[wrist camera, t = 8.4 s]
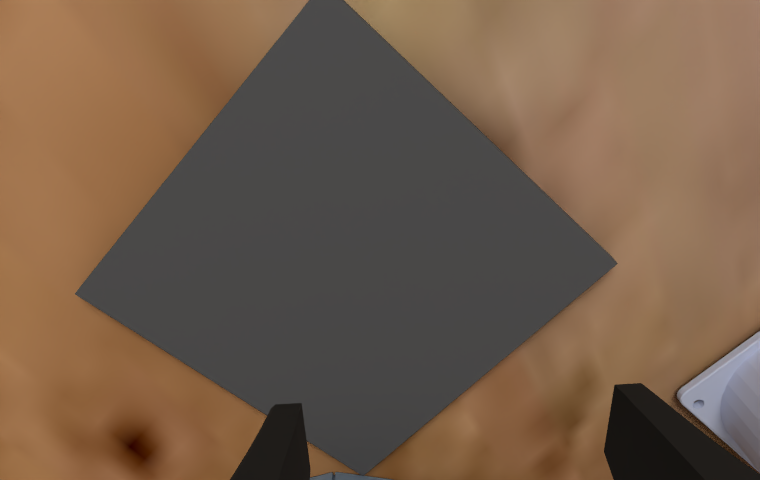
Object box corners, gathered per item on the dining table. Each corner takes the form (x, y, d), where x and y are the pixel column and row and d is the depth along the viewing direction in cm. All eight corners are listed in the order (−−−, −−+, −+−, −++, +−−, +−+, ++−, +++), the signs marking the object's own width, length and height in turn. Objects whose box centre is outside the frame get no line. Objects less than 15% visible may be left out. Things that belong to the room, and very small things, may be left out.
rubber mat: (611, 256, 24) (617, 263, 23) (363, 466, 28) (363, 476, 28) (324, -18, 19) (323, -18, 18) (81, 286, 23) (74, 293, 23)
